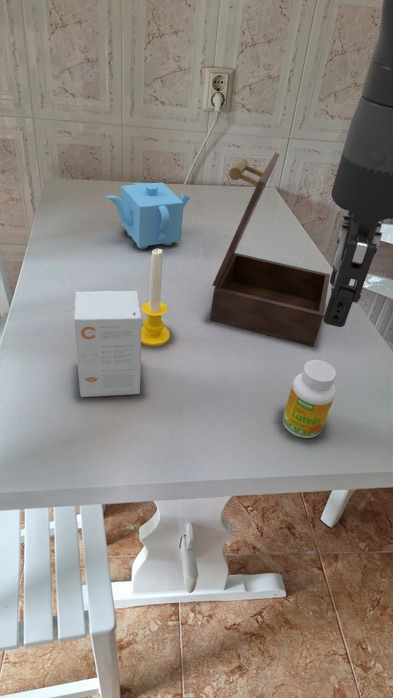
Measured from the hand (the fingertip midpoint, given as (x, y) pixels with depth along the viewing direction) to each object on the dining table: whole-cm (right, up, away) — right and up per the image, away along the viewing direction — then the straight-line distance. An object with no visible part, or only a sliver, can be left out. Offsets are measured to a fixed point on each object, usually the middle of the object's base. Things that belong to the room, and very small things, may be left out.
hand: (335, 303), depth 55 cm
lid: (-8, +15, +22) cm, 28 cm away
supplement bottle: (-2, -15, +11) cm, 19 cm away
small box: (-28, -10, +14) cm, 33 cm away
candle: (-23, -3, +23) cm, 32 cm away
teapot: (-26, +18, +48) cm, 58 cm away
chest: (-3, +1, +31) cm, 31 cm away
